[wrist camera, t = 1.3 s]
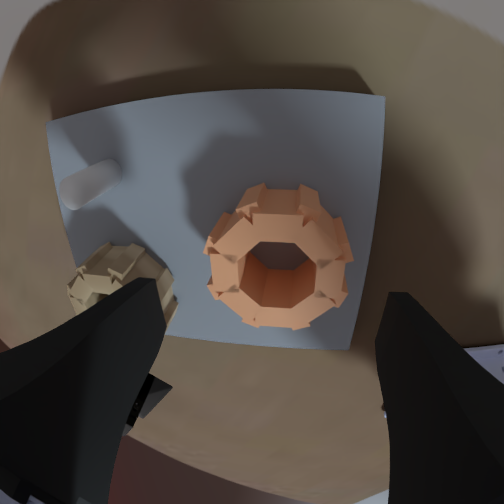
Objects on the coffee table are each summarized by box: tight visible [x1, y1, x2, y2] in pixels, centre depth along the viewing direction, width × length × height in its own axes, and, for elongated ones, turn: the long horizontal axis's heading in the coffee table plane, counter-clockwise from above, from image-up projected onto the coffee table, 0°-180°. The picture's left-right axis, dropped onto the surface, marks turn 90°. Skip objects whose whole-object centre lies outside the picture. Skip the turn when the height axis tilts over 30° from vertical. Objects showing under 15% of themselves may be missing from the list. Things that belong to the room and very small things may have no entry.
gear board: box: [46, 89, 385, 350], centre depth 13 cm, size 16×13×4 cm
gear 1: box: [67, 242, 179, 333], centre depth 14 cm, size 6×6×4 cm
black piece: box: [122, 373, 173, 436], centre depth 23 cm, size 12×7×5 cm, turn 147°
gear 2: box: [203, 183, 354, 330], centre depth 12 cm, size 6×6×3 cm
